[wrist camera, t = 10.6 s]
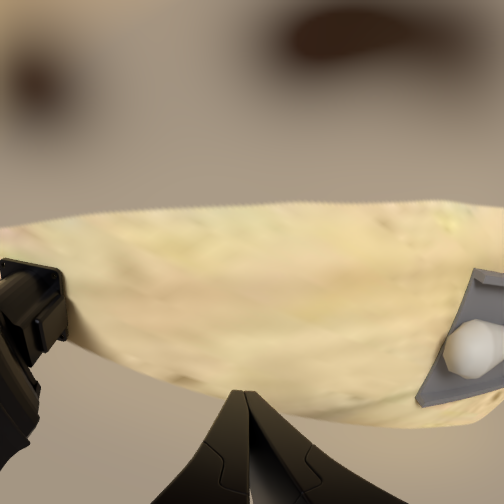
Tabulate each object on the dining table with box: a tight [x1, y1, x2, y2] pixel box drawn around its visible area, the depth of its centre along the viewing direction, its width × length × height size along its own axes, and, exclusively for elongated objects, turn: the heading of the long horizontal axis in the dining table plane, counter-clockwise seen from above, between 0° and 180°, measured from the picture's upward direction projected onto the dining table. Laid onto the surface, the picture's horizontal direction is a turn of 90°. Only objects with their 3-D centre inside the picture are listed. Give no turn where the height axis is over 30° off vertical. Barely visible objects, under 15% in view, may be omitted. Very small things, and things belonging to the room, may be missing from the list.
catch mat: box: [415, 268, 504, 408], centre depth 26 cm, size 19×16×2 cm
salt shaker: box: [443, 319, 504, 379], centre depth 23 cm, size 6×6×13 cm
